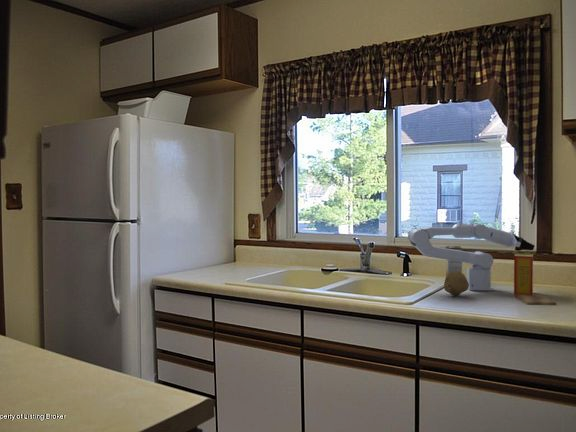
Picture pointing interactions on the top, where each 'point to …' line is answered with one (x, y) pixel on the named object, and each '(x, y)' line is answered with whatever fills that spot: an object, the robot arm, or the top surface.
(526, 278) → the baking soda box
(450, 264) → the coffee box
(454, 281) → the natural sponge
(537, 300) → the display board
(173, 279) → the top surface
